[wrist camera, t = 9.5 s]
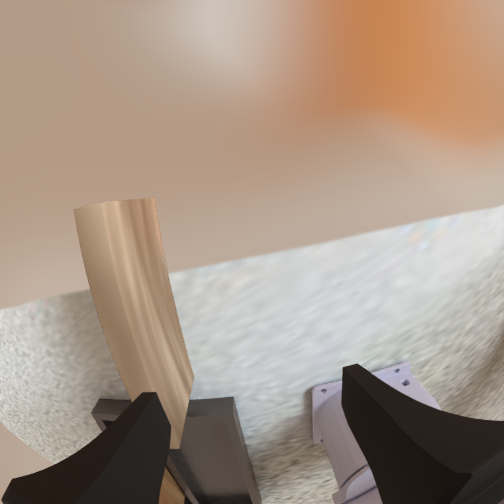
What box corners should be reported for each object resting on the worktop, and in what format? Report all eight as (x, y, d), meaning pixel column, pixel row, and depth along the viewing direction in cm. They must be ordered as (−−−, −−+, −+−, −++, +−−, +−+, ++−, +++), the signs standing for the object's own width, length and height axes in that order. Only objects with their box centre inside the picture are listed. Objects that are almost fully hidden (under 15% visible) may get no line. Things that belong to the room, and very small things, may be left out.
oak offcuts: (155, 437, 22) (143, 479, 16) (187, 490, 24) (182, 524, 19) (125, 435, 22) (110, 474, 16) (161, 488, 24) (155, 521, 19)
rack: (233, 396, 22) (233, 414, 19) (261, 498, 26) (262, 511, 23) (99, 398, 21) (91, 412, 19) (165, 499, 25) (162, 510, 23)
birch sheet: (154, 197, 18) (101, 202, 10) (194, 375, 21) (179, 448, 13) (134, 201, 18) (73, 209, 10) (176, 376, 21) (155, 448, 13)
